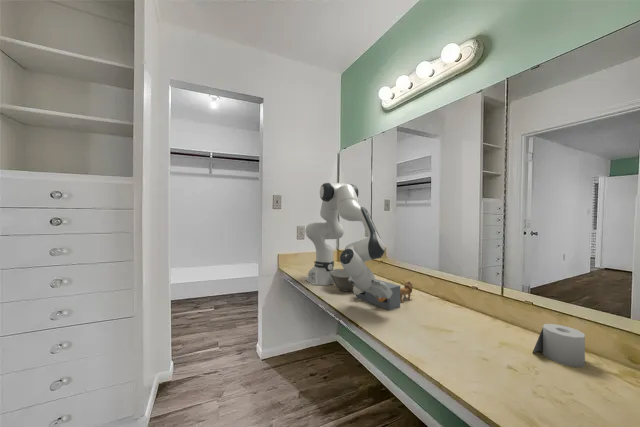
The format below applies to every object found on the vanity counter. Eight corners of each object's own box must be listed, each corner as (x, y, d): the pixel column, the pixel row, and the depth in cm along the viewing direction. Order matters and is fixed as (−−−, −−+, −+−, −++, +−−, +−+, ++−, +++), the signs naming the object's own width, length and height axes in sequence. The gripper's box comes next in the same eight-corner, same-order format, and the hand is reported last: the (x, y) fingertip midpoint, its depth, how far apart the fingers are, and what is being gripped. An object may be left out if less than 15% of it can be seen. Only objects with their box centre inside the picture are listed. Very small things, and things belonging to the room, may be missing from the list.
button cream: (353, 293, 129) (353, 284, 130) (359, 292, 132) (359, 283, 132) (359, 296, 126) (359, 286, 126) (366, 294, 128) (366, 285, 128)
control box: (355, 297, 133) (356, 278, 133) (366, 294, 138) (366, 276, 138) (389, 310, 115) (389, 288, 115) (400, 306, 120) (400, 285, 120)
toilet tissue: (524, 351, 80) (524, 324, 81) (561, 349, 82) (561, 323, 82) (553, 368, 71) (553, 338, 72) (594, 366, 73) (594, 336, 73)
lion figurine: (405, 296, 136) (405, 279, 136) (414, 298, 132) (414, 281, 132) (390, 302, 126) (390, 284, 126) (400, 305, 122) (400, 286, 122)
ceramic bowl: (324, 292, 141) (324, 275, 141) (334, 282, 163) (334, 267, 163) (363, 297, 134) (363, 278, 134) (369, 285, 156) (369, 269, 156)
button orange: (376, 300, 119) (376, 290, 119) (382, 298, 122) (382, 288, 122) (384, 303, 115) (384, 292, 115) (390, 301, 118) (390, 291, 118)
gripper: (386, 277, 104) (400, 297, 110) (352, 269, 121) (366, 286, 126) (379, 290, 102) (394, 309, 107) (345, 279, 118) (360, 296, 124)
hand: (378, 296), depth 117 cm, fingers closed, pressing on button orange
